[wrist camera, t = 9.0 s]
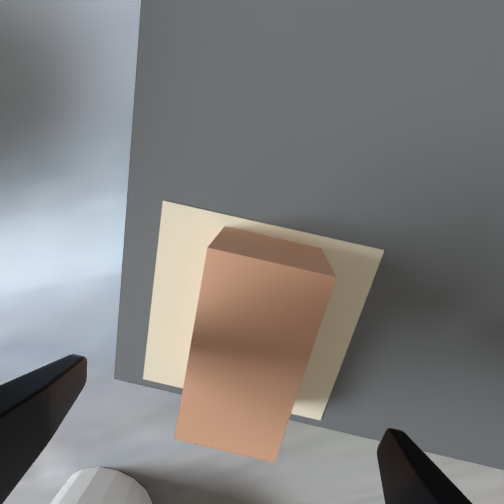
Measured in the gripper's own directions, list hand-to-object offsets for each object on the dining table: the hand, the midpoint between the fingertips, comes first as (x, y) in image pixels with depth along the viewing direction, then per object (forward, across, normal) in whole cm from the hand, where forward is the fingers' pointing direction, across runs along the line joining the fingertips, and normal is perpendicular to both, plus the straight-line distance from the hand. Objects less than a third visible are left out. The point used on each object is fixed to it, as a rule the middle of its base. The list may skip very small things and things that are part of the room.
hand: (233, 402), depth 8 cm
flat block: (+5, 0, 0) cm, 5 cm away
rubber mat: (+5, -4, -4) cm, 8 cm away
